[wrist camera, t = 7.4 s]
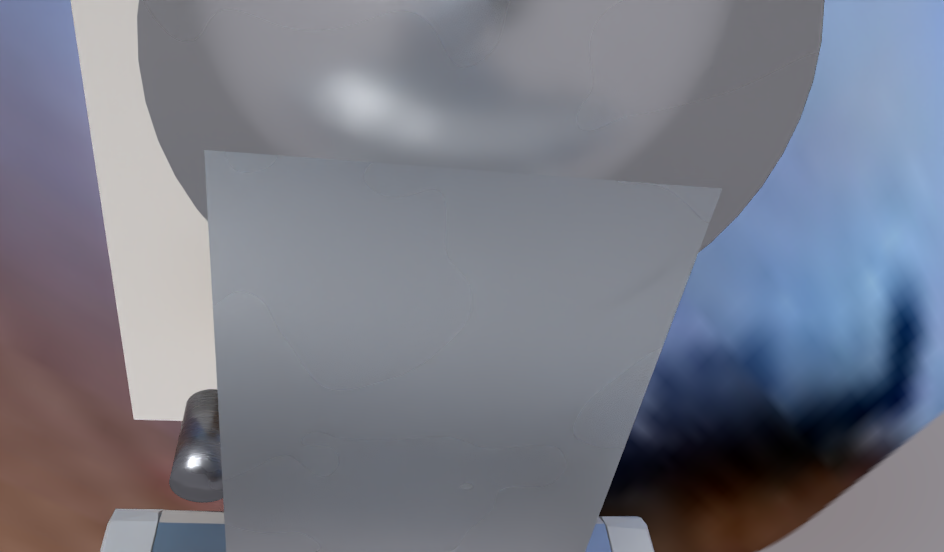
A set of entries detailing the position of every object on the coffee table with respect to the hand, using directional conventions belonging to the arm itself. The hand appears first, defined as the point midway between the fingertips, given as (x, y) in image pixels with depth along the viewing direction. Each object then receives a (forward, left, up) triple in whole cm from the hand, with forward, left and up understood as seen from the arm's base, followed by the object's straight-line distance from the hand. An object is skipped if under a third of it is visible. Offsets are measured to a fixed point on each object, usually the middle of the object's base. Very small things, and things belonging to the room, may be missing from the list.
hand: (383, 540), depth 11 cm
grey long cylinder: (0, 0, -2) cm, 2 cm away
